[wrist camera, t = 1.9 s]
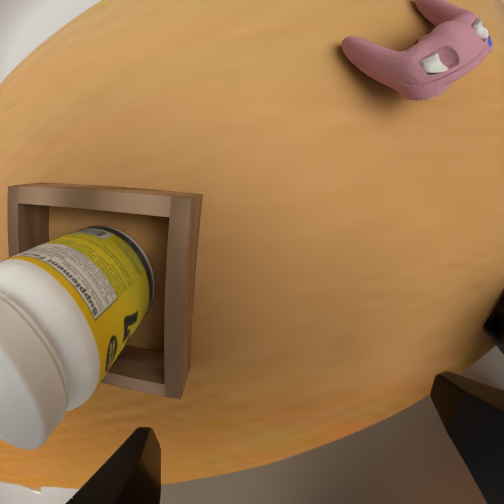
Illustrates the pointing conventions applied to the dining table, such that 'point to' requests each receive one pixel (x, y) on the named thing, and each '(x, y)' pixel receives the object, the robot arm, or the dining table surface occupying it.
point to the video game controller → (426, 53)
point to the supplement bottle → (65, 325)
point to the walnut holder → (177, 268)
